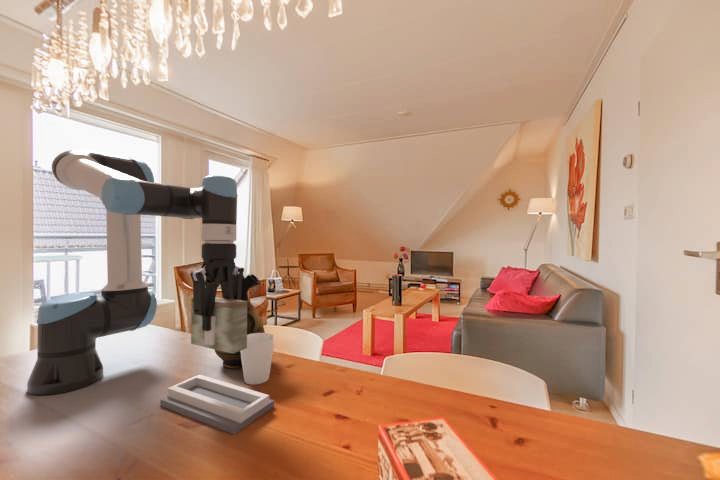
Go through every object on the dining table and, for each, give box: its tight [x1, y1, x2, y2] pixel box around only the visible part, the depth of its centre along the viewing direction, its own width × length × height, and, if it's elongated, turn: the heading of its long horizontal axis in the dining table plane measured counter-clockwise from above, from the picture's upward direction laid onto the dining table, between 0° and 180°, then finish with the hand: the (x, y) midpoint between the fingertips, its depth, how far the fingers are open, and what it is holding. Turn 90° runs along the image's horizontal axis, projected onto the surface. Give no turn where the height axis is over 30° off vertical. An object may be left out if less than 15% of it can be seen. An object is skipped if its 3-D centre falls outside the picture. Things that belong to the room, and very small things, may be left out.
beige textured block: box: [190, 296, 247, 354], centre depth 75 cm, size 14×4×11 cm, turn 64°
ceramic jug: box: [213, 273, 266, 370], centre depth 101 cm, size 17×15×30 cm
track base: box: [159, 374, 275, 435], centre depth 75 cm, size 24×12×4 cm, turn 64°
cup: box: [240, 332, 275, 386], centre depth 90 cm, size 9×9×12 cm
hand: (218, 340), depth 75 cm, fingers closed on beige textured block, 4 cm apart
